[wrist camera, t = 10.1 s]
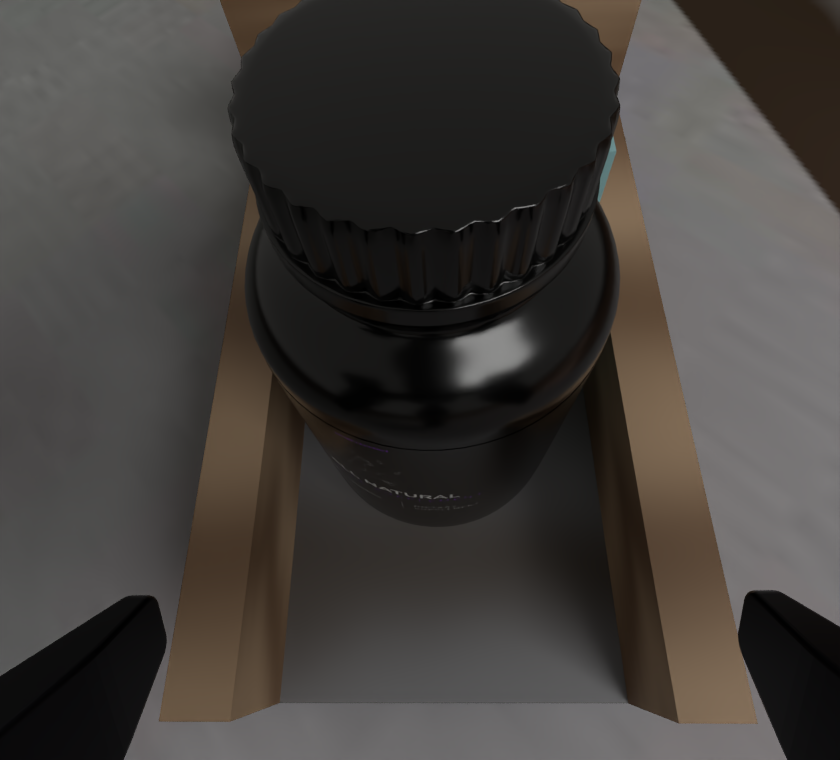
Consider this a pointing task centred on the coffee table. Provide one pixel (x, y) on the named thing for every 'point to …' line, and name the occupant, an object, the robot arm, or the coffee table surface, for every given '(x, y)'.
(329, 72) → the supplement bottle
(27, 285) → the coffee table surface
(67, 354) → the coffee table surface
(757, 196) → the coffee table surface
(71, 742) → the robot arm
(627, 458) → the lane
